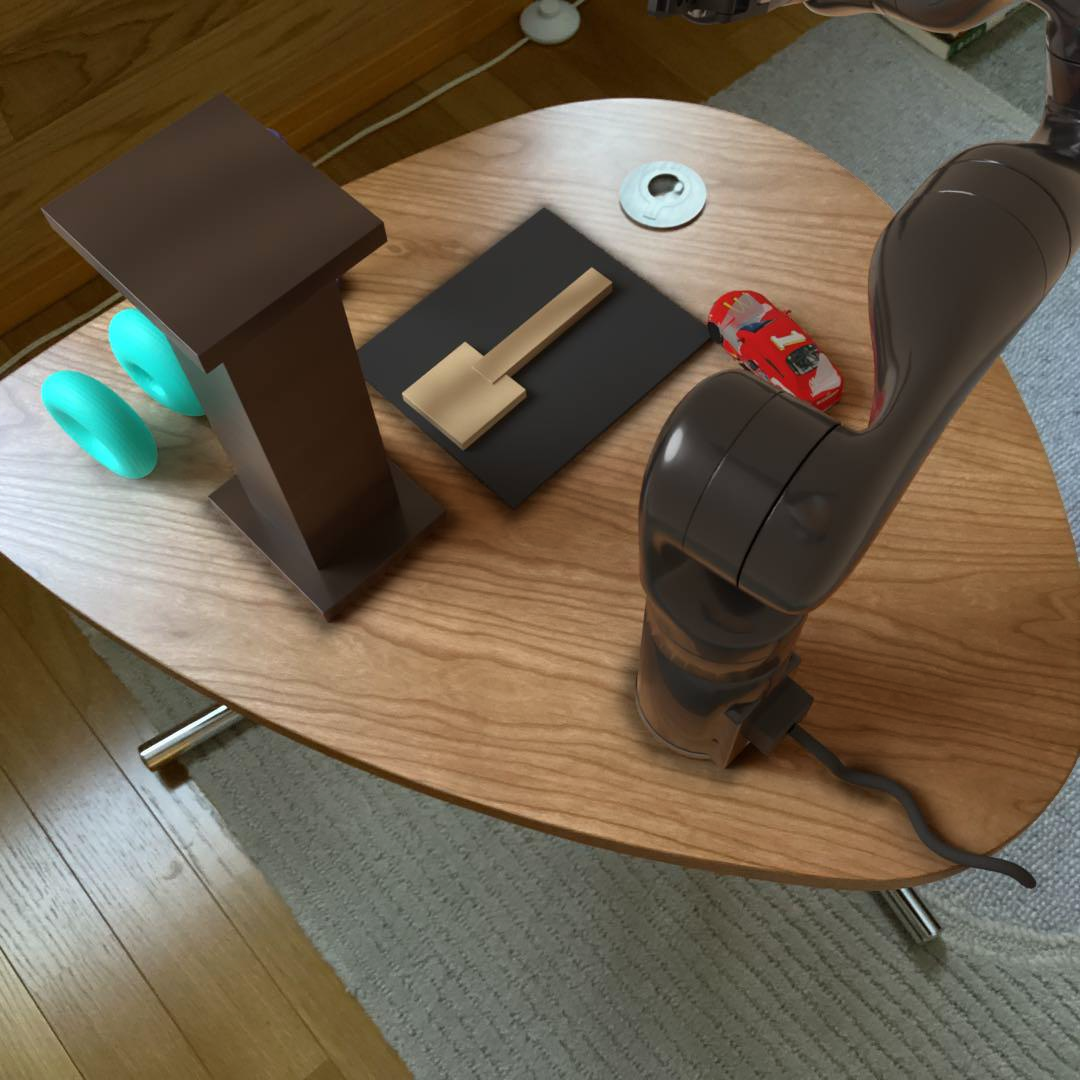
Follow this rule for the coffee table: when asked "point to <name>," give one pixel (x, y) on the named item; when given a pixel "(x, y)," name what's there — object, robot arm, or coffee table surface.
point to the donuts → (104, 414)
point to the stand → (260, 337)
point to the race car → (774, 348)
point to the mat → (557, 371)
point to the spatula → (497, 367)
